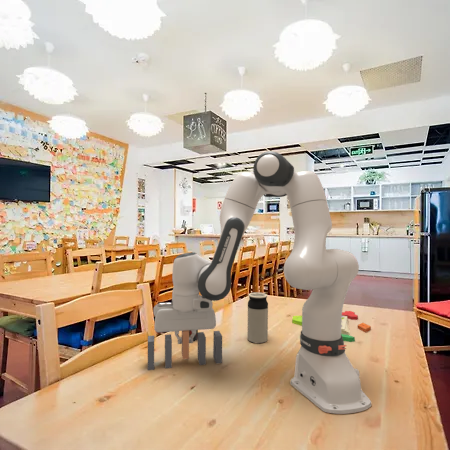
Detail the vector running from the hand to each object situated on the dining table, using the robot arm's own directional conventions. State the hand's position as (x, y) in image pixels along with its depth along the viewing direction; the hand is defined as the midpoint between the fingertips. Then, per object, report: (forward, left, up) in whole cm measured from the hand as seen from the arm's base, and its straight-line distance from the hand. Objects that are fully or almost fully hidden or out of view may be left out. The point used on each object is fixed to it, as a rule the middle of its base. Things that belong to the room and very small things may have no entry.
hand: (185, 342), depth 103 cm
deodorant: (+19, -4, -7) cm, 21 cm away
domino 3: (0, 0, -4) cm, 4 cm away
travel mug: (+13, -30, -7) cm, 34 cm away
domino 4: (-1, -5, -7) cm, 8 cm away
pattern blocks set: (+23, -68, -7) cm, 72 cm away
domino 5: (-1, -11, -7) cm, 13 cm away
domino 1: (-1, +11, -7) cm, 13 cm away
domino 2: (-1, +6, -7) cm, 9 cm away
